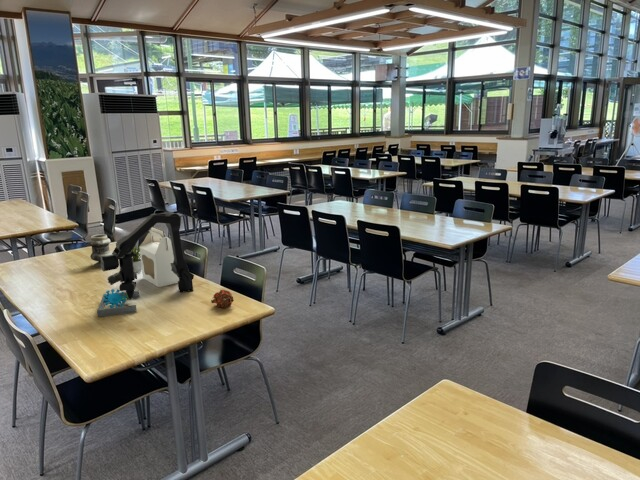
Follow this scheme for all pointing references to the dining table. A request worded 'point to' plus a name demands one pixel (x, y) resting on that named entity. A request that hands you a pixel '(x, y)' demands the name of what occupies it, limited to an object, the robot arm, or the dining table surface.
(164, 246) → the gable box
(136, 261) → the house plant
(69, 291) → the dining table surface
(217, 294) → the dragon fruit
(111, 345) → the dining table surface
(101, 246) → the apothecary jar
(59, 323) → the dining table surface
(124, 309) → the gear seat
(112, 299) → the gear
